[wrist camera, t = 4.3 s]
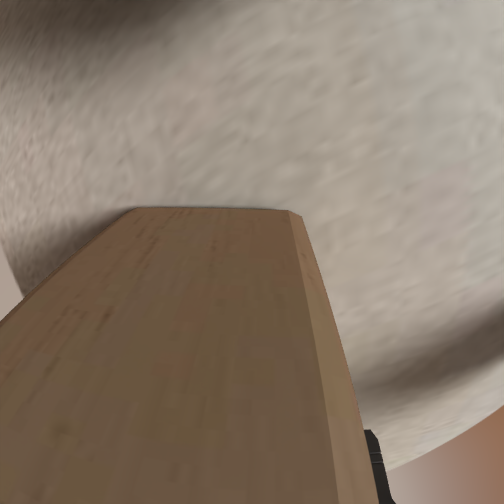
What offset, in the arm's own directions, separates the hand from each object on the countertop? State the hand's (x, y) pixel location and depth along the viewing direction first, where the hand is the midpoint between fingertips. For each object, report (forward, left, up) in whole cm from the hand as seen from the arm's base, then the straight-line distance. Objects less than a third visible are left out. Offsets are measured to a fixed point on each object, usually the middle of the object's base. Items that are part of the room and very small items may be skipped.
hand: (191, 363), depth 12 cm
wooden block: (0, 0, -7) cm, 7 cm away
